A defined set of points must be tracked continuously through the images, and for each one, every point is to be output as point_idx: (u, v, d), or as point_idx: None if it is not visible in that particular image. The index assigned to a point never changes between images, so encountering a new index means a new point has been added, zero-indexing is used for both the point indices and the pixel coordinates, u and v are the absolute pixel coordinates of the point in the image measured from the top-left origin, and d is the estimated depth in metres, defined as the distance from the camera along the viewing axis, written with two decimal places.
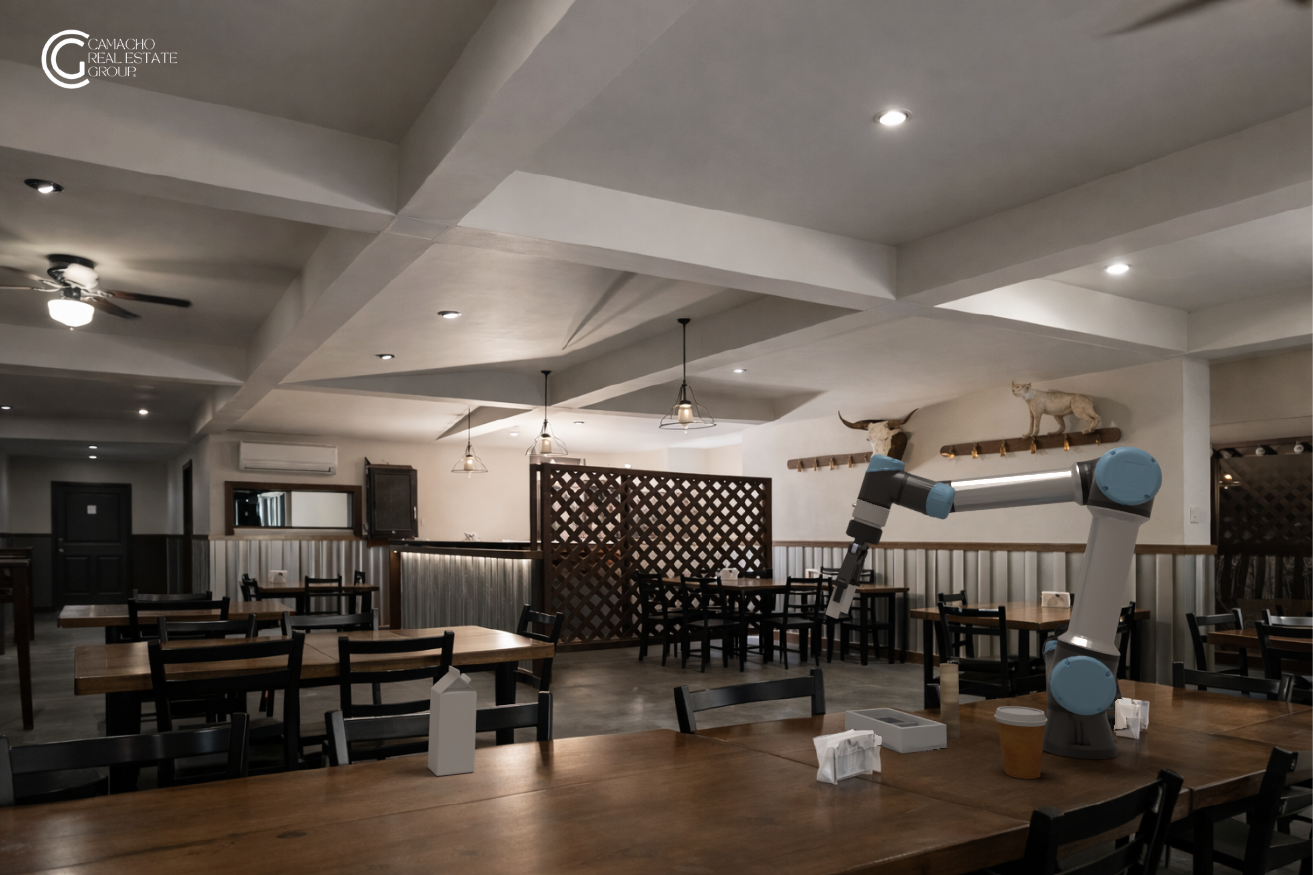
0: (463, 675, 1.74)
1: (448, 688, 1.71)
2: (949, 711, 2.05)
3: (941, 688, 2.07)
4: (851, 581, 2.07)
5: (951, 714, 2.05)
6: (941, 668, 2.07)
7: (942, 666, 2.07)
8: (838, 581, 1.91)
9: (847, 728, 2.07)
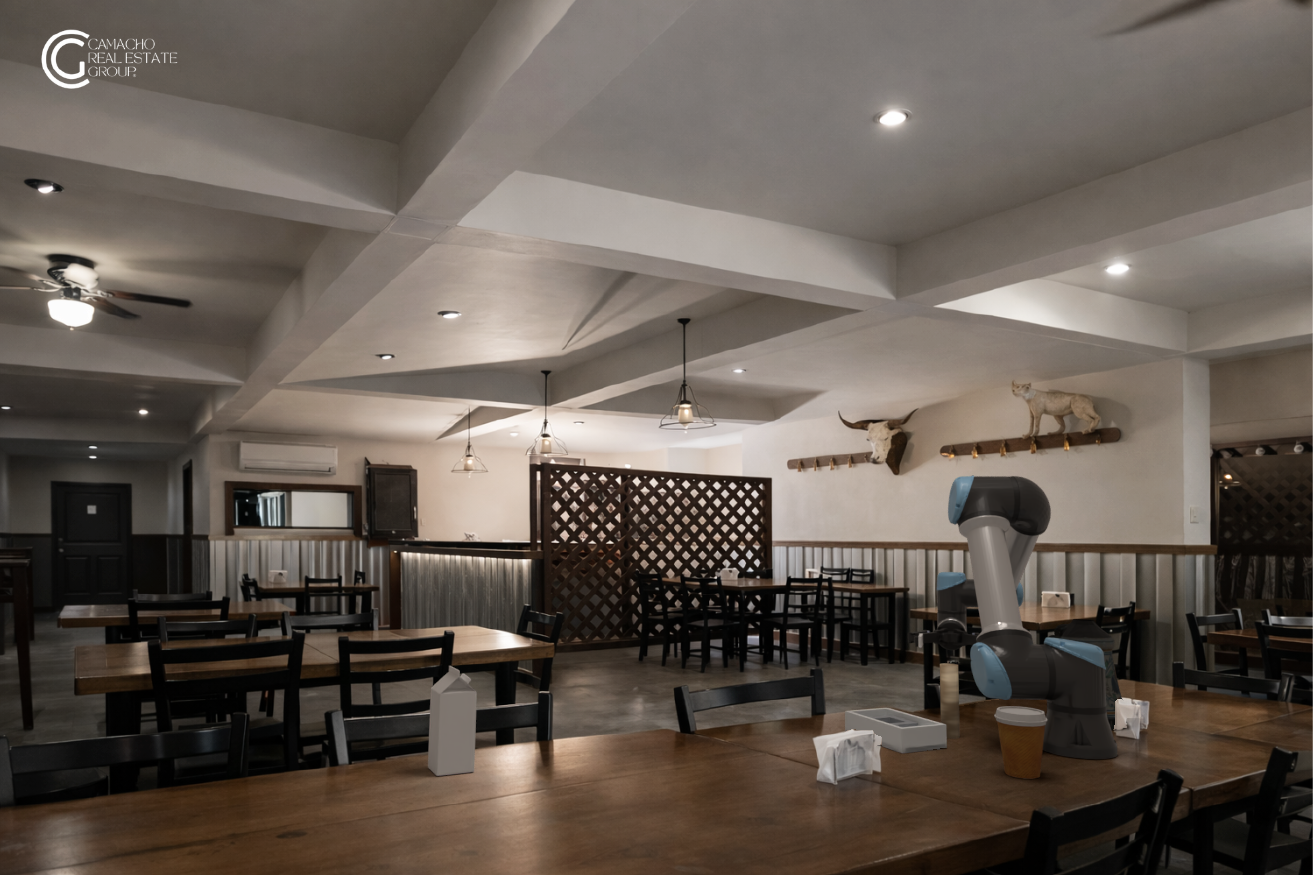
0: (463, 675, 1.74)
1: (448, 688, 1.71)
2: (949, 711, 2.05)
3: (941, 688, 2.07)
4: None
5: (951, 714, 2.05)
6: (941, 668, 2.07)
7: (942, 666, 2.07)
8: (908, 639, 2.28)
9: (847, 728, 2.07)
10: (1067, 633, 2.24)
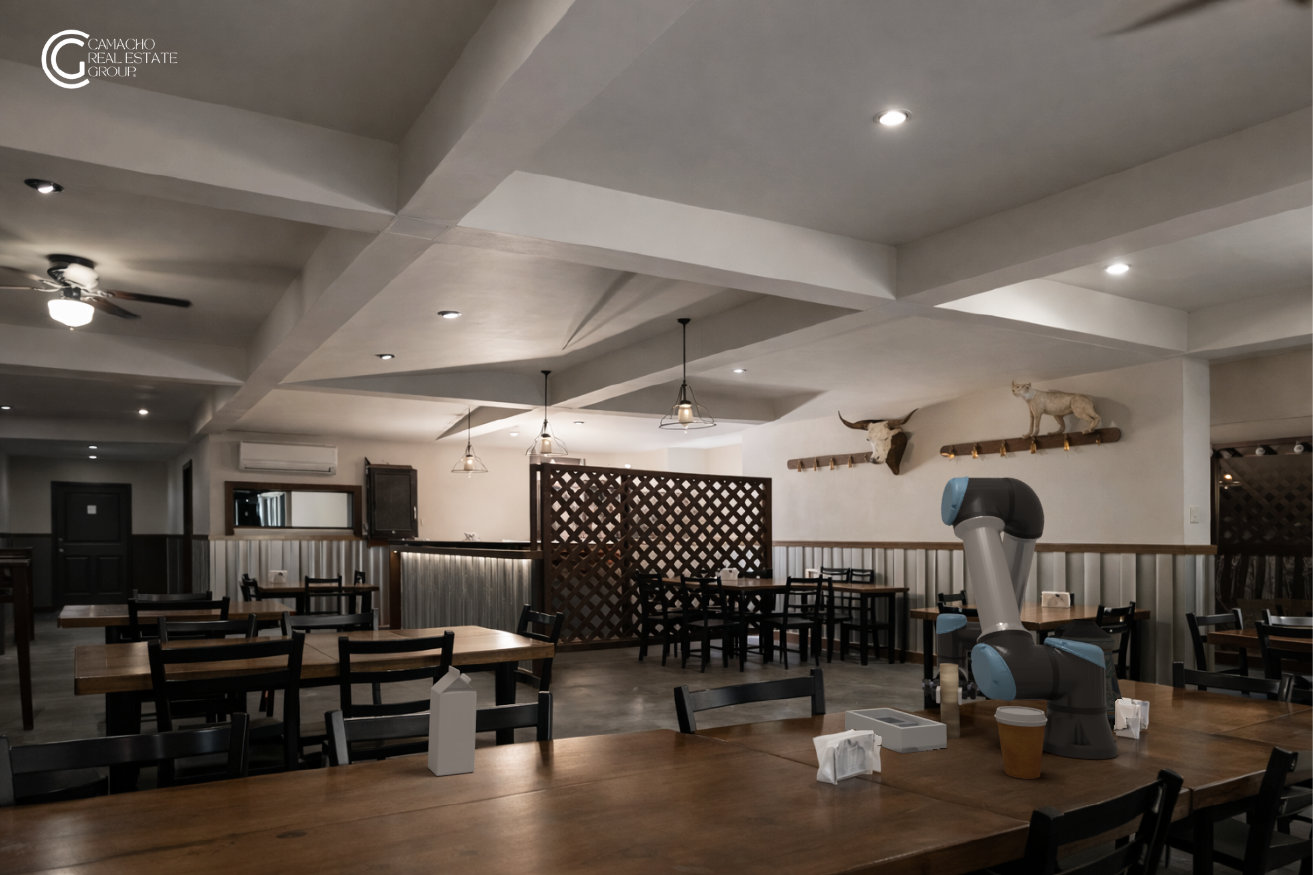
0: (463, 675, 1.74)
1: (448, 688, 1.71)
2: (949, 711, 2.05)
3: (941, 688, 2.07)
4: None
5: (951, 714, 2.05)
6: (941, 668, 2.07)
7: (942, 666, 2.07)
8: (924, 692, 2.11)
9: (847, 728, 2.07)
10: (1067, 633, 2.24)
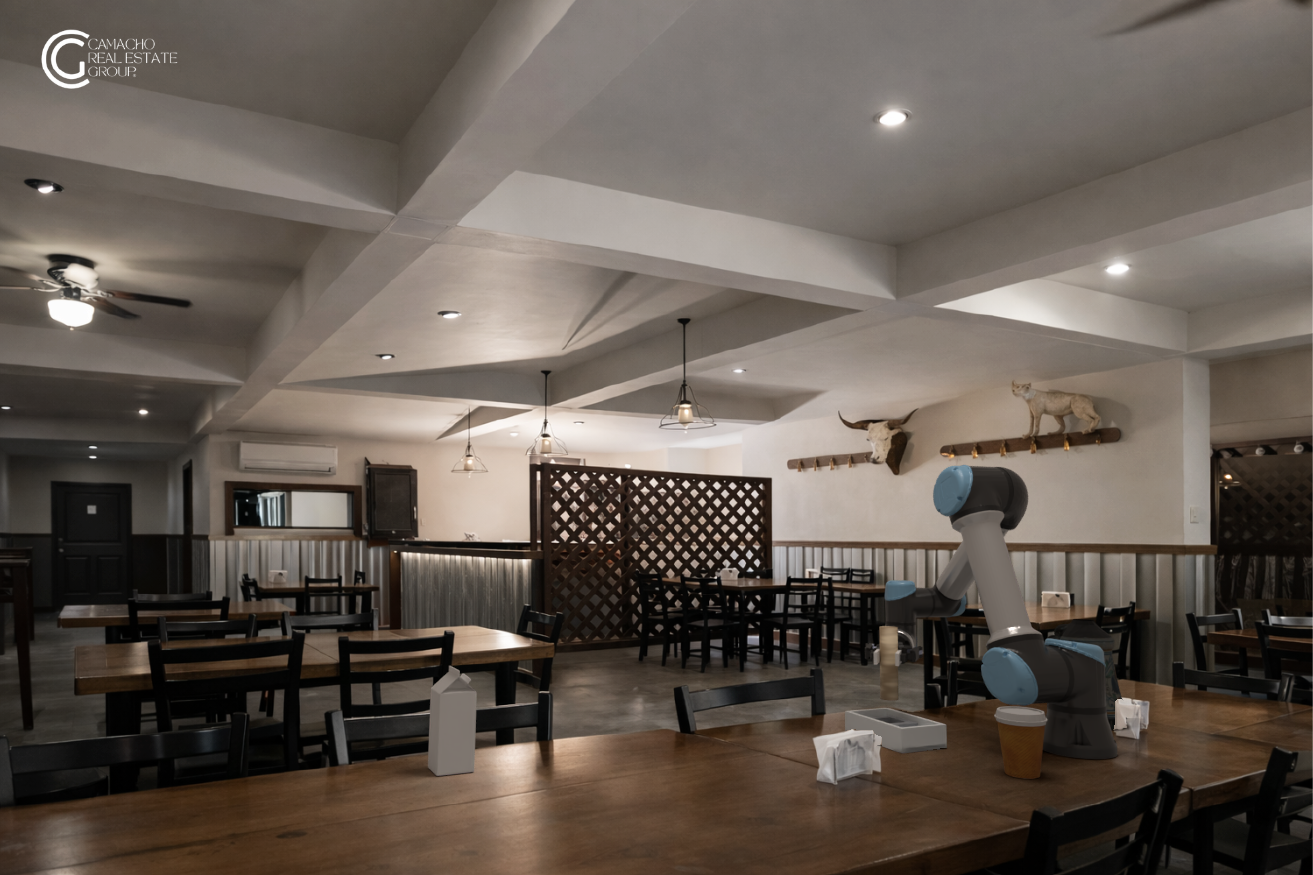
0: (463, 675, 1.74)
1: (448, 688, 1.71)
2: (887, 673, 2.03)
3: (880, 650, 2.05)
4: None
5: (889, 676, 2.03)
6: (880, 630, 2.06)
7: (881, 629, 2.05)
8: (865, 655, 2.09)
9: (847, 728, 2.07)
10: (1067, 633, 2.24)
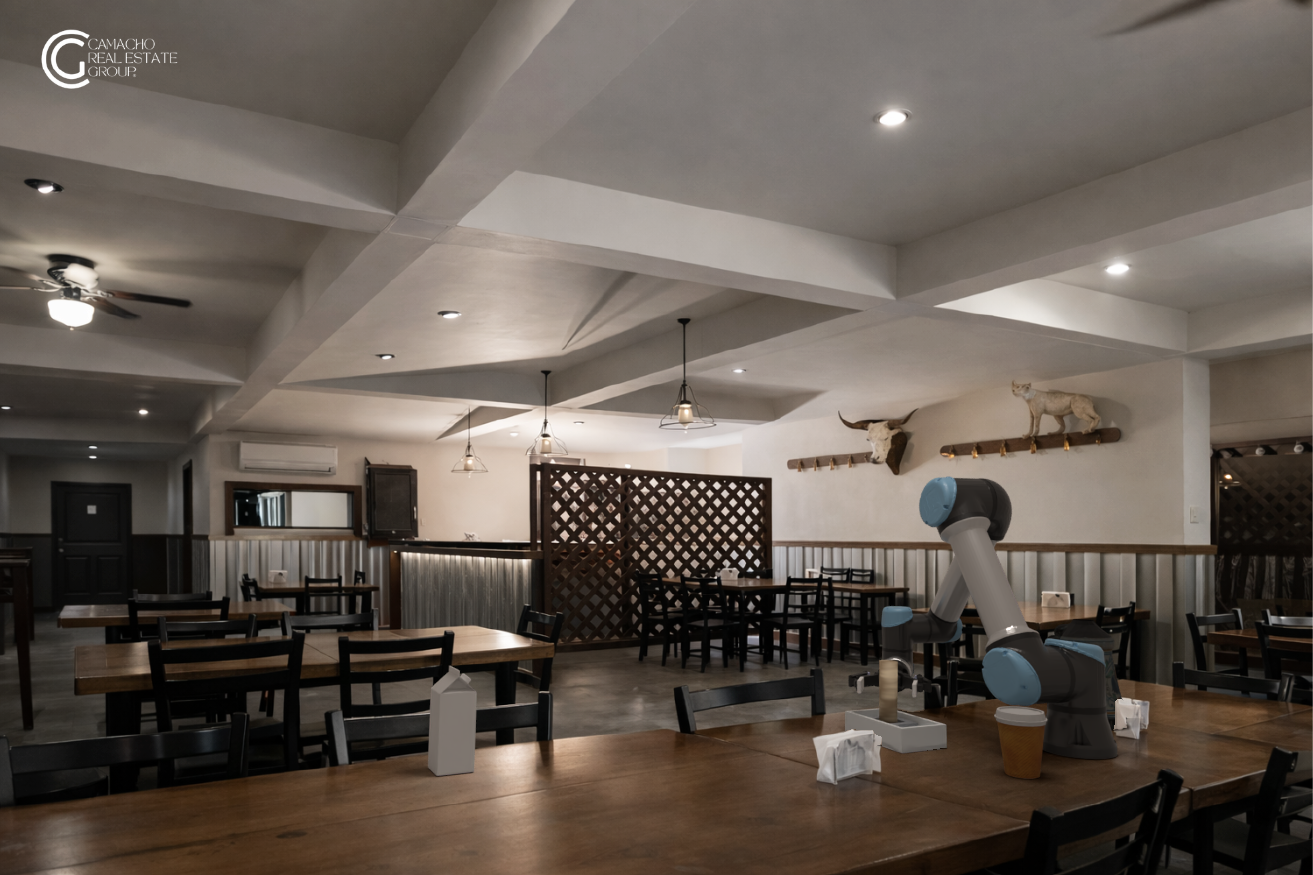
0: (463, 675, 1.74)
1: (448, 688, 1.71)
2: (887, 708, 2.02)
3: (880, 685, 2.04)
4: None
5: (889, 711, 2.02)
6: (880, 664, 2.04)
7: (881, 663, 2.04)
8: (848, 683, 2.11)
9: (847, 728, 2.07)
10: (1067, 633, 2.24)
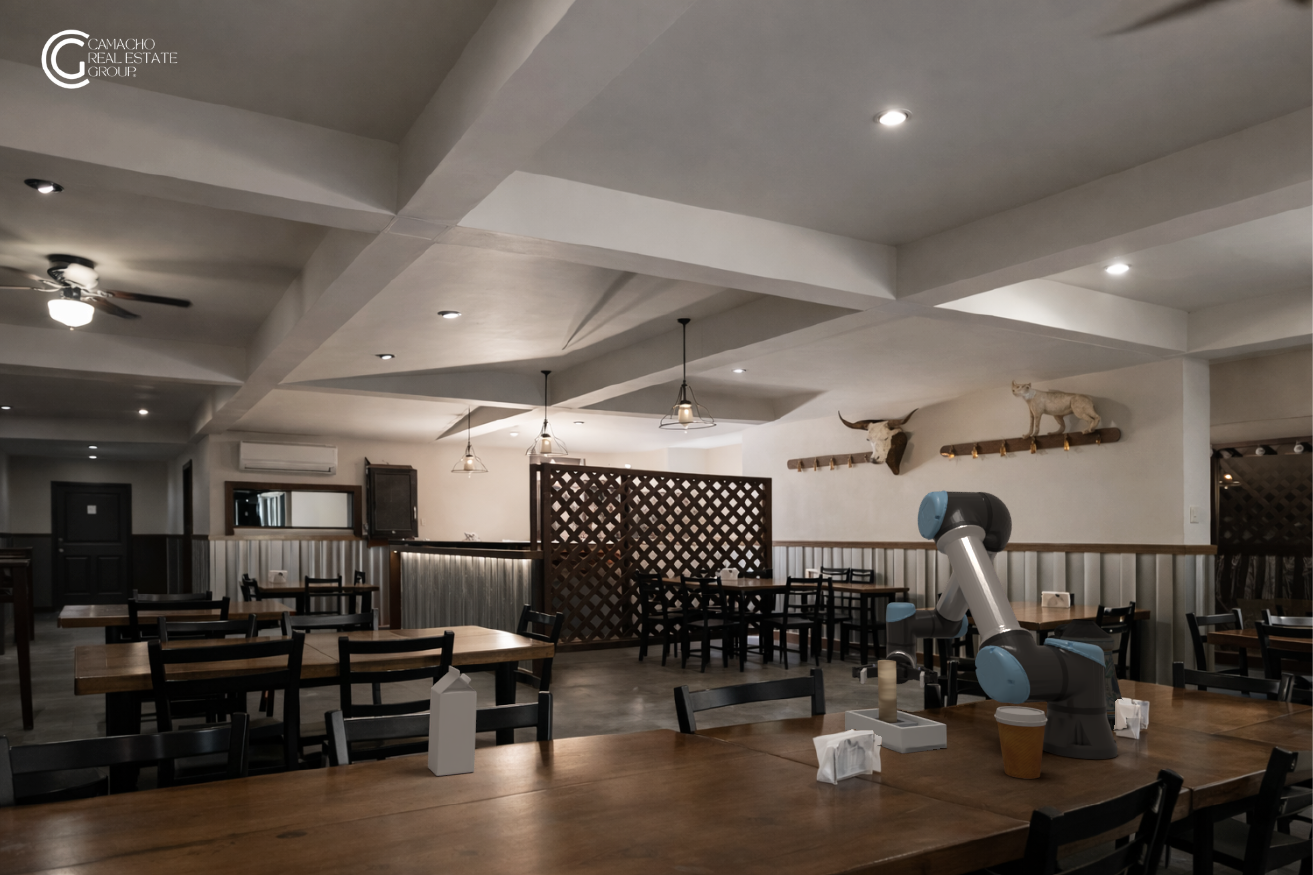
0: (463, 675, 1.74)
1: (448, 688, 1.71)
2: (886, 708, 2.02)
3: (879, 685, 2.04)
4: None
5: (888, 711, 2.02)
6: (879, 665, 2.04)
7: (879, 663, 2.04)
8: (852, 674, 2.24)
9: (847, 728, 2.07)
10: (1067, 633, 2.24)
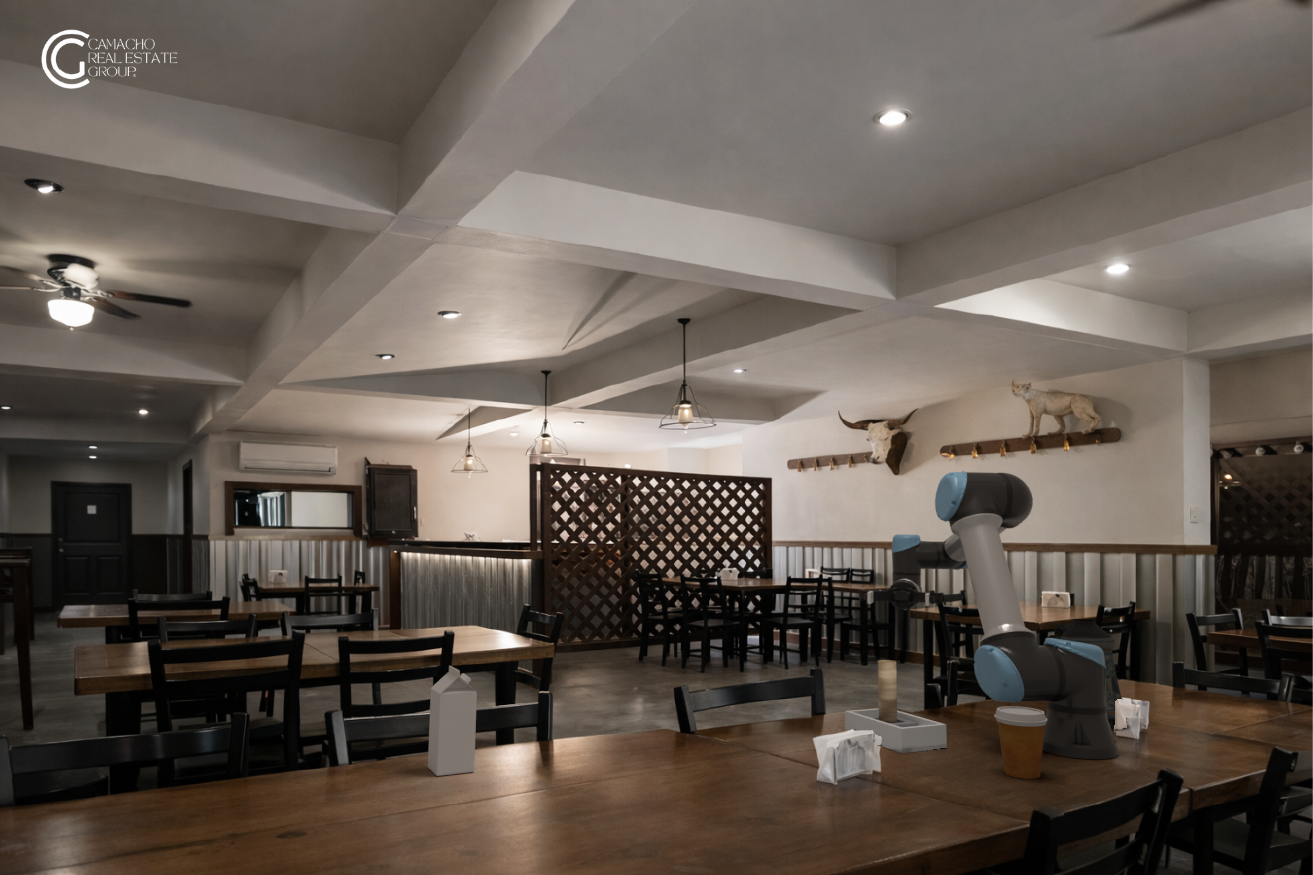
0: (463, 675, 1.74)
1: (448, 688, 1.71)
2: (886, 708, 2.02)
3: (879, 685, 2.04)
4: None
5: (888, 711, 2.02)
6: (879, 665, 2.04)
7: (880, 663, 2.04)
8: (859, 597, 2.30)
9: (847, 728, 2.07)
10: (1067, 633, 2.24)
